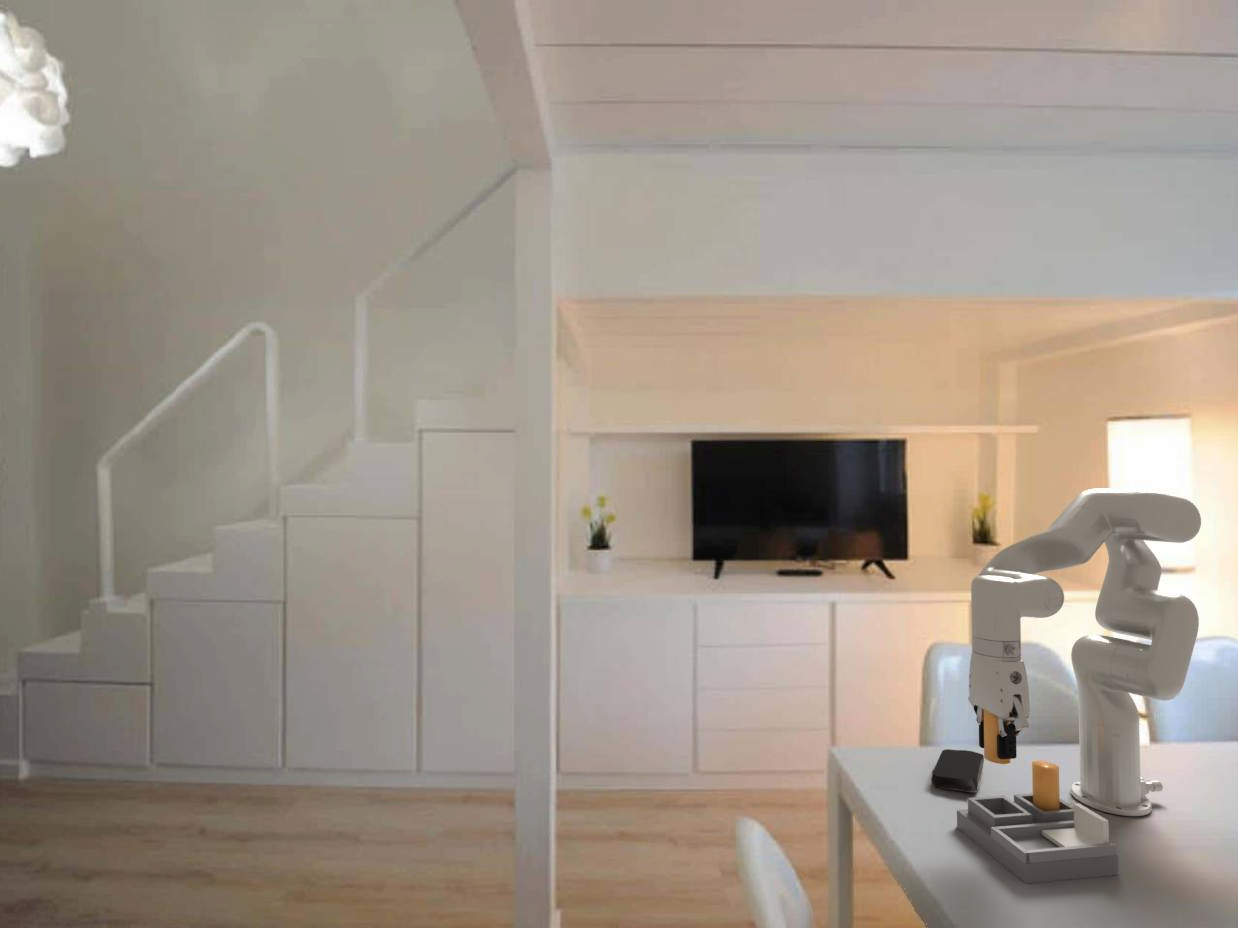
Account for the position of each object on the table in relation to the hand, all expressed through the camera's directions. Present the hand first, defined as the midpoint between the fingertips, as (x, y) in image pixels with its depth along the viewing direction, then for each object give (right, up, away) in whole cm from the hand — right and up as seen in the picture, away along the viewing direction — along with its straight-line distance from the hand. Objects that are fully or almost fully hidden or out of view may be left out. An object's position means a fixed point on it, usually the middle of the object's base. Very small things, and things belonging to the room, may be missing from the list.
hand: (997, 751), depth 117 cm
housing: (+4, -15, -4) cm, 16 cm away
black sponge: (+5, -16, +23) cm, 29 cm away
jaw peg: (0, -1, 0) cm, 1 cm away
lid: (+8, -12, -8) cm, 16 cm away
